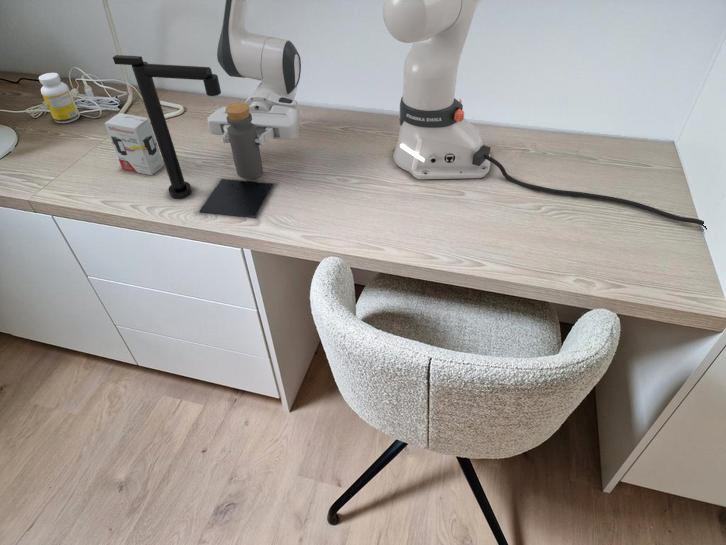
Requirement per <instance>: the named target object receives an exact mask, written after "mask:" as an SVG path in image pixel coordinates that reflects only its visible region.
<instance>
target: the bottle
mask: <svg viewBox="0 0 726 545" xmlns="http://www.w3.org/2000/svg"><path fill="white" fill-rule="evenodd" d="M244 103H245V102H235V103H232V104H229V105H227V106H225V107H226V112H227V114H228V116H227V122H228V124H229V125H230V126H229V127H228V130H227V131H228V136H229V140H230V143H229V145H230V149H231V153H232V157H233V163H234V167H235V171H236V175H237V176H238V177H239V178H241V179H249V180H250V179H254V178H257V177H260V176H261V175H262V174H263V173H264V166H263V162H262V161H263V160H262V155H261V149H260V145H256V144H255V143H256V142H255V137H256V135H257V132H256V127H255V125H254V124H253V123H251V121H252V115H251V114H250V113H249V106H248V105H247V104H244Z"/></svg>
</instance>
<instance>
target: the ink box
mask: <svg viewBox="0 0 726 545" xmlns="http://www.w3.org/2000/svg"><path fill="white" fill-rule="evenodd" d="M104 126H105V128H106V130H107V134H108V136H109V139H110V141H111V143H112V146H113V149H114V152H115V154H116V157H117V159H118V161H119V165H120V166H121V169H122V170H124V171H128V172H133V173H138V174H143V175H148V176H153V175H154V174H156V173H157V172H158V171H160V170H161V169H162V168H163V167H165V164H164V161H163V158H162V155H161V152H160V149H159V146H158V143H157V140H156V137H155V134H154V131H153V128H152V125H151V122H150V119H149V118H148V117H144V116H138V115H134V114H128V113H123V112H119V113H117V114H115V115H114V116H112V117H111V118H109V119H108V120H106V121H104Z"/></svg>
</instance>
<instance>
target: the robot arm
mask: <svg viewBox="0 0 726 545" xmlns="http://www.w3.org/2000/svg"><path fill="white" fill-rule="evenodd" d="M481 3H482V0H383V4H382V18H383V19H382V20H383V22H384V26H385V27H386V29H387V31H388V33H389V35H391V36H392V37H393V38H394V39H395V40H397V41H399V42H400V43H405V44H411V43H412V45H411V48H410V50H409V52H408V53H407V55H406V57H405V60H404V64H403V76H402V96H401V98H400V102H399V111H398V120H399V125H400V126H399V133H398V137H397V142H396V145H395V149H394V151H393V154H392V159H393V162H394V163H395V164H396V165H397V166H398V167H399V168H401V169H402V170H405V171H407V172H408V173H410V174H411V175H412V176H413V177H414V178H415V179H417V180H453V179H456V180H457V179H460V180H461V179H481V178H484V177H485V176H487V175H488V173H489V171H490V169H491V163H492V164H493V165H495V166H496V167H497V168H498V169H499V170H500V173H501V174H502V176H503V177H504V178H505V179H506V180H508V181H509V182H511V183H513V184H516V185H518V186H520V187H523V188H527V189H529V190H536V191H540V192H544V193H548V194H554V195H555V194H556V195H563V196H573V197H582V198H588V199H595V200H601V201H608V202H614V203H617V204H622V205H626V206H631V207H635V208H638V209H641V210H644V211H646V212H647V211H648V212H650V213H653V214H656V215H659V216H661V217H664V218H667V219H671V220H674V221H676V222H677V221H678V222H683V223H690V224H696V225H700V226H702V227H703V228H704V229H705V230H706V231H707V228H706V226H704V225H703V224H704V220H703V219H700V218H694V217H686V216H680V215H677V214H673V213H670V212H668V211H664V210H661V209H658V208H656V207H653V206H650V205H646V204H645V203H644V204H643V203H640V202H637V201H633V200H628V199H624V198H620V197H615V196H609V195H603V194H597V193H590V192H584V191H583V192H582V191H575V190H574V191H573V190H565V189H557V188H550V187H546V186H541V185H536V184H532V183H528V182H527V183H526V182H523V181H520V180H518V179H516V178H514V177H512V176H511V175H509V174H508V173H507V170H506V169H505V167H504V165H503V164H501V163H500V162H499V161H498V160H496V159H495V158H494V157H491V148H492V147H491V146H488V145H484V143H483V137H482V135H481V132H480V130H479V129H478V127H476V126H475V125H474V124H472V122H470V121H468V120H467V119H466V118H465V111H464V110H463V109H464V107H463V106H464V105H463V103H462V102H463V101H462V98H459V100H458V99H457V98H455V95H456V88H457V87H456V86H457V79H458V71H459V66H460V60H461V56H462V53H463V50H464V47H465V44H466V40H467V38H468V35H469V32H470V28H471V24H472V21H473V19H474V16H475V13H476V11H477V10H478V7H479V6H480V4H481ZM248 6H249V0H225V4H224V10H223V11H224V13H223V19H222V26H221V31H220V35H219V39H218V44H217V52H216V59H217V62H218V64H219V66H220V67H221V69H222V70H223V71H224V72H225V73H226V75H228V76H229V77H231V78H232V77H233V78H240V79H241V78H242V79H251V80H255V81H261V82H260V83H259V84H258V85H257V87H256V89H255V90H254V91H253V92H252V93H251V94H250V95H249V96H248V98H247V99H246V100H245V101H244V102H243V103H244V104H247V105H248V106H249V113H250V114H251V115H252V121H251V123H253V124H254V125H255V127H256V132H257V135H256V137H255V142H256V143H255V144H256V145H259V147H260V146H261V147H263V146H264V145H265V143H267V142H270V141H272V140H278V141H279V140H281V141H294V140H296V139H298V138H299V135H300V131H301V114H300V108H299V103H298V101H297V100H295V98H296V96H297V92H298V91H297V90H298V85H299V83H300V79H301V72H302V61H301V56H300V53H299V51H298V49H297V48H296V46H295V45H294V43H293V42H292V41H291V40H288V39H284V38H280V37H279V38H278V37H274V36H268V35H262V34H258V33H251V32H249V31H248V30H246V20H247V14H248V13H247V12H248ZM226 107H227V106H222V107H219V108H217V109H216V110H215V111H214V112H212V113H211V114H210V115H209V116H208V117H207V119H206V123H207V127H208V131H209V132H210V134H211V135H214V136H222V142H223V143H224V144H230V140H229V136H228V131H227V130H228V127H229V126H230V125H229V124H228V122H227V116H228V114H227V112H226Z"/></svg>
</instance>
